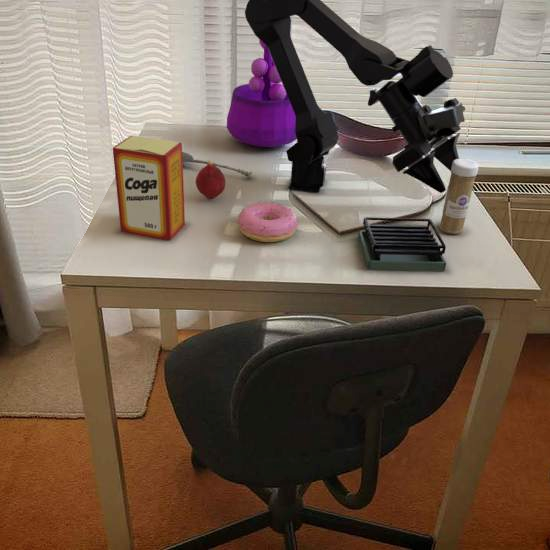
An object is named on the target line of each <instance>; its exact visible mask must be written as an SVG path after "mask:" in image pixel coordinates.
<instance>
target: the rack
mask: <svg viewBox="0 0 550 550" xmlns="http://www.w3.org/2000/svg"><path fill="white" fill-rule="evenodd" d="M369 221H386V222H387V221H391V222H392V221H393V222H427V224H426V225H414V224H413V225H411V224H409V225H408V224H406V225H405V224H374V223H373V224H369ZM362 225H363V228H364V231H366V233H367V241H368V244H369V247H370V250H371V253H372V256H373V259H374V261H380V257H381V254H388V255H427V257H428V259H429V261H430V262H437V258H438V256H443V255H445V253H446V249H447V248H446V244H445V241H444V240H443V238H442V236H441V234H440V233H439V231H438V229H437V227H436V226H435V224H434V222H433V221H432V219H431V218H420V217H419V218H412V217H377V216H376V217H375V216H374V217H373V216H372V217H371V216H365V217H363V221H362ZM430 227H431V228H432V230H431V229H430ZM432 231H433V232H434V234H433V233H432ZM434 236H435V237H434ZM436 237H437V239H438V241H439V242H438V241H437V239H436ZM439 243H440V245H439Z"/></svg>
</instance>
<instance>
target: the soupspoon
mask: <svg viewBox="0 0 550 550" xmlns="http://www.w3.org/2000/svg"><path fill="white" fill-rule="evenodd" d="M182 162H183V163H196V164H203V165H207V163H208V161H207V160H200V159H194V157H193V155H191V154H190V153H187V152H185V151H182ZM212 164H213V165H214V166H216V167H218V168H223V169H227V170H230V171H234V172H237V174H241V175H243V176H245V177H247V179H248V180H249V179H251V177H252V175H253V171H246V170H243V169H241V168H235V167H232V166H228V165H224V164H220V163H216V162H212Z"/></svg>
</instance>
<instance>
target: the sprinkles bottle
mask: <svg viewBox="0 0 550 550" xmlns="http://www.w3.org/2000/svg"><path fill="white" fill-rule="evenodd" d="M479 165H480V164H479V163H478V162H477V161H475V160H472V159H469V158H459V159H456V160H454V161H453V163H452V167H451V171H450V177H449V182H448V185H447V188H446V194H445V198H444V201H443V202H444V203H443V207H442V215H441V220H440V222H439V226H438V227H439V229H440V230H441V231H442V232H443V233H446V234H450V235H459V234H461V233H463V232H464V227H465V222H466V219H467V216H468V212H469V207H470V203H471V198H472V193H473V189H474V184H475V180H476V176H477V175H478V173H479V172H478V171H479V167H480V166H479Z"/></svg>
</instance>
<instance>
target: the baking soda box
mask: <svg viewBox="0 0 550 550" xmlns="http://www.w3.org/2000/svg"><path fill="white" fill-rule="evenodd" d="M182 152H183V143H182V142H180V141H179V142H178V141H172V140H166V139H160V138H151V137H144V136H138V135H129V136H128V137H126V138H125V139H124V140H122V141H120V142H119V143H118V144H116V145H115V146H113V147H112V157H113V167H114V175H115V184H116V186H115V187H116V195H117V196H116V197H117V204H118V216H119V225H120V227H119V228H120V232H121V233H125V234H130V235H131V234H132V235H137V236H141V237H148V238H154V239H159V240H164V241H171V240H173V238H174V237H176V235H177V234H179V232H180V231H181V230H182V229H183V227H184V226H186V219H185V217H186V215H185V195H184V194H185V193H184V170H183V169H184V166H183V165H184V164H183V163H184V162H182Z"/></svg>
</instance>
